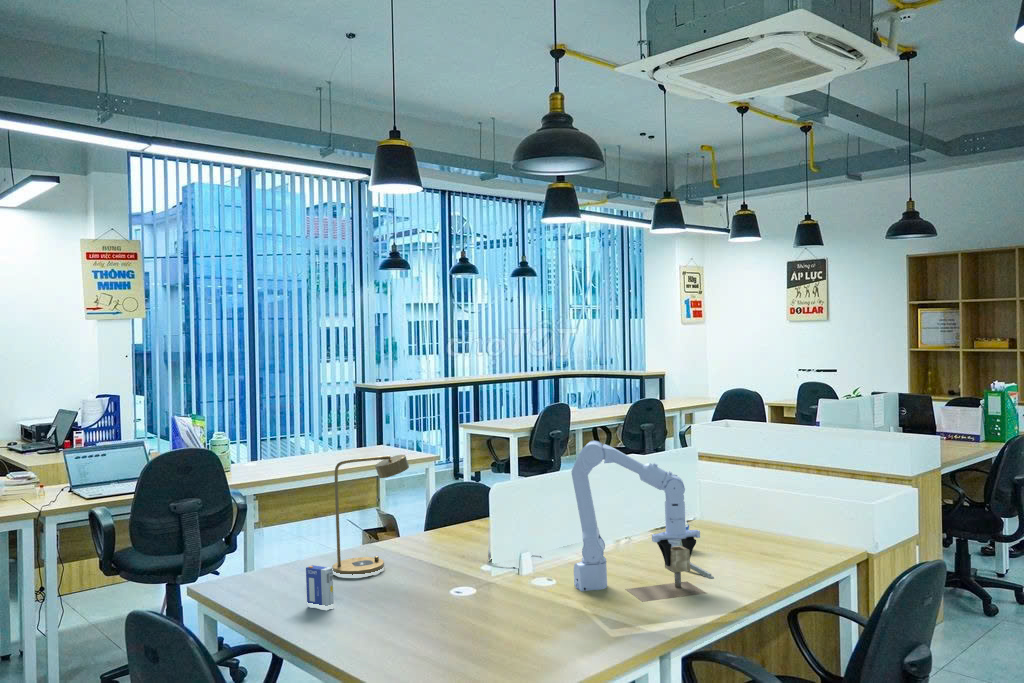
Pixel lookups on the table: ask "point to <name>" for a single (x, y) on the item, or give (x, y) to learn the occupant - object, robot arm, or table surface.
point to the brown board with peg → (666, 590)
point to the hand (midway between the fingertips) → (677, 564)
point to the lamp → (348, 566)
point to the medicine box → (678, 541)
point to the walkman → (319, 585)
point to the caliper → (700, 571)
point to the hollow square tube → (679, 559)
